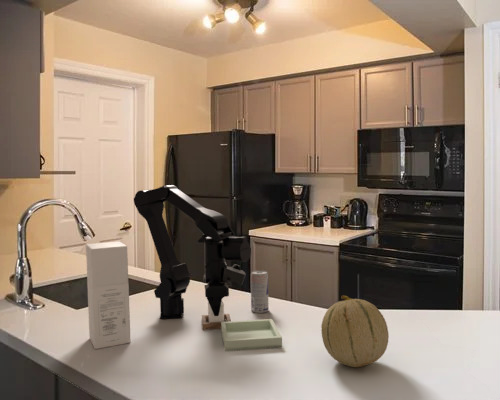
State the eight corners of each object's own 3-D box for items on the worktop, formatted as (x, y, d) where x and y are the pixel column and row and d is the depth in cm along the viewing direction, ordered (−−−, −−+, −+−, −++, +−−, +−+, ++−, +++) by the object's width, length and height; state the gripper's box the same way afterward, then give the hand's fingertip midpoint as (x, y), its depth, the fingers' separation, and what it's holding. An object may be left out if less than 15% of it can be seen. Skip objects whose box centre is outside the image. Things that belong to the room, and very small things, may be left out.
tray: (225, 351, 110) (224, 340, 110) (221, 331, 124) (221, 322, 124) (282, 347, 112) (281, 337, 112) (272, 327, 126) (272, 319, 126)
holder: (202, 329, 126) (202, 324, 125) (201, 320, 134) (201, 315, 133) (231, 327, 127) (231, 322, 126) (229, 318, 134) (229, 313, 134)
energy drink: (269, 308, 144) (268, 270, 143) (268, 313, 139) (267, 274, 138) (252, 307, 145) (251, 270, 144) (250, 313, 139) (249, 274, 139)
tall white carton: (123, 332, 125) (120, 241, 123) (130, 342, 117) (127, 245, 115) (89, 338, 120) (85, 244, 119) (94, 349, 113) (90, 249, 111)
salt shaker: (210, 326, 128) (209, 293, 127) (208, 322, 131) (207, 289, 131) (224, 325, 129) (224, 292, 128) (221, 321, 132) (221, 288, 132)
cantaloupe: (377, 385, 92) (377, 311, 91) (310, 369, 100) (309, 301, 99) (396, 358, 104) (396, 294, 103) (335, 346, 112) (335, 286, 111)
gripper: (247, 264, 121) (248, 322, 122) (239, 252, 139) (240, 302, 140) (204, 266, 119) (206, 325, 120) (203, 253, 138) (204, 304, 139)
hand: (216, 313), depth 130 cm, fingers closed on salt shaker, 4 cm apart
